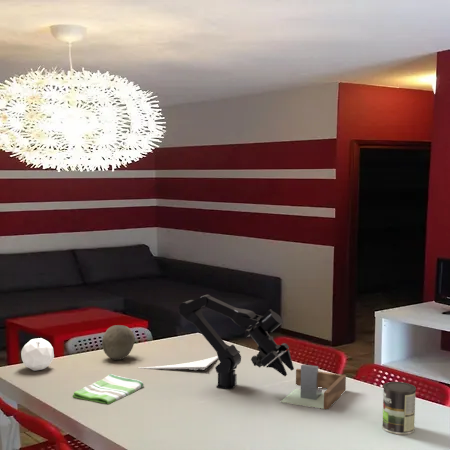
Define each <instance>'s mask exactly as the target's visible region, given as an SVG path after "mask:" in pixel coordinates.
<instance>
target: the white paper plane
mask: <svg viewBox="0 0 450 450" xmlns="http://www.w3.org/2000/svg"><path fill="white" fill-rule="evenodd" d="M217 360H219V359H218V355H216V356H212V357H209V358H204V359H201V360H195V361H191V362H183V363H177V364H169V365H167V364H166V365H156V366H144V367H139V369H144V370H166V371H167V370H178V371H179V370H189V371H192V370H193V371H197V370H198V371H199V370H200V371H204V370H205V369H207V368H208V367H209V366H211V364H213V363H214V362H215V361H217Z"/></svg>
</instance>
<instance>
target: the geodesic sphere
mask: <svg viewBox="0 0 450 450" xmlns="http://www.w3.org/2000/svg"><path fill="white" fill-rule="evenodd" d="M20 353H21V360H22V362H23V364H24V367H26V368H28V369H30V370H32V371H33V372H35V371H42V370H45V369H46V368H48V367H49V366H50V365H51V364H52V361H53V360H54V358H55V354H54V347H53V346H52V344H51V343H50V342H49V341H48V340H46V339H44V338H42V337H40V338H39V337H38V338H32V339H30V340H29V341H28V342H27V343H25V344H24V346H23V347H22V349H21V351H20Z"/></svg>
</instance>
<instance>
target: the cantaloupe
mask: <svg viewBox="0 0 450 450" xmlns="http://www.w3.org/2000/svg"><path fill="white" fill-rule="evenodd" d="M101 345H102V349H103V352H104V354H105V355H106V356H107V357H108V358H110V359H112V360H114V361H122V360H123V359H125V358H127V357H128V356H129V355H130V353H131V352H132V350H133V348H134V346H135V334H134V332H133V331H132V330H131V328H130V327H128V326H126V325H121V324H117V325H116V324H115V325H112V326H110V327H108V328H107V329H106V331H105V332H104V335H103V337H102V343H101Z"/></svg>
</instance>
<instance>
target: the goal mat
mask: <svg viewBox="0 0 450 450" xmlns="http://www.w3.org/2000/svg"><path fill="white" fill-rule="evenodd" d="M280 403H282V404H283V403H284V404H291V405H297V406H301V405H303V407H307V406H310V407H309V408H313V407H315V408H314V409H320V408H321V410H325V409H324V392H322V395H321V396H320V397H319V398H318V399H317V400H313V399H307V398H301V388H295V389H294V390H292V391H291V392H290V393H289V394H288V395H287V396H285V397H284V398H283V399H282V400H280Z"/></svg>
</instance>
